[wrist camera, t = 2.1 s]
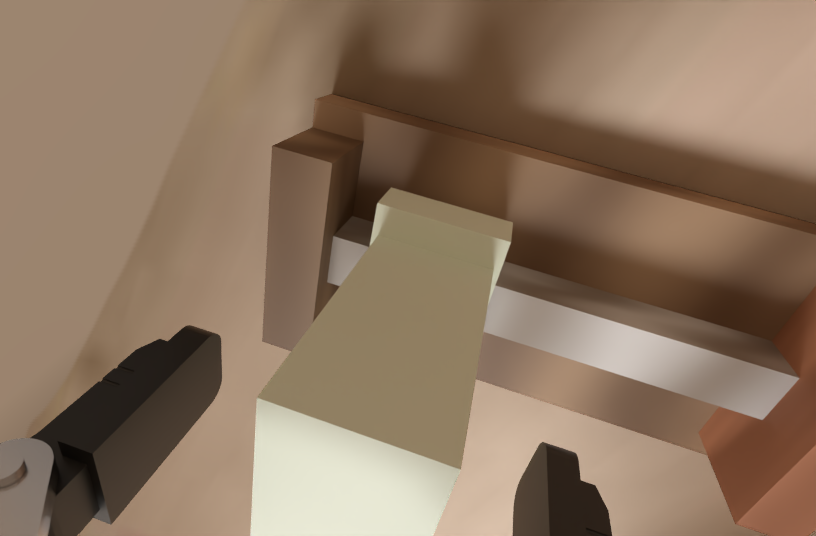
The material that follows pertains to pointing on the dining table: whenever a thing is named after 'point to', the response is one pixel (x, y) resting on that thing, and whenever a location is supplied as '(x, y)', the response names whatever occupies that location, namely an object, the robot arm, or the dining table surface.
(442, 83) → the dining table surface
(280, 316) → the track
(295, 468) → the slider
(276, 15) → the dining table surface
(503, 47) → the dining table surface
